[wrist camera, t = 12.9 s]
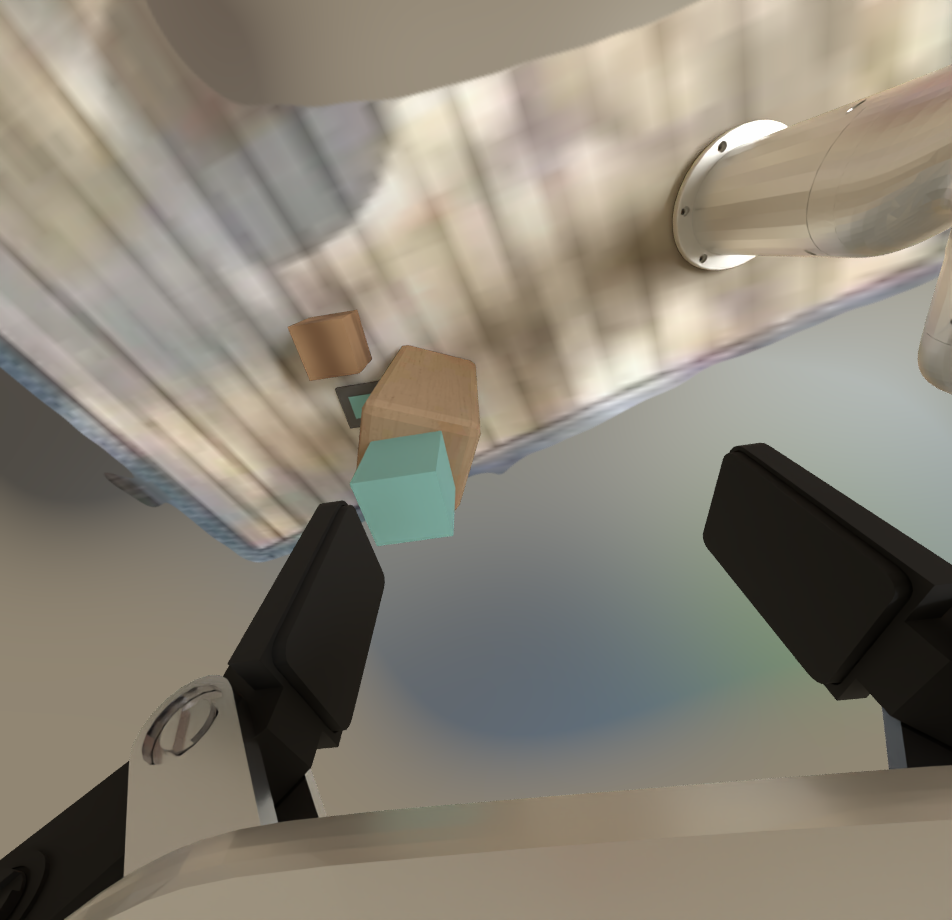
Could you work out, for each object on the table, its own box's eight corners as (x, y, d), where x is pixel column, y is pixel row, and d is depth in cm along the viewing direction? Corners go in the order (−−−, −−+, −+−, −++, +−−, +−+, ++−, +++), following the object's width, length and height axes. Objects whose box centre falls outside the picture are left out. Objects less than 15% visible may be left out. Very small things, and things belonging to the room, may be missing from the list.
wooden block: (391, 411, 49) (351, 500, 32) (401, 341, 44) (359, 401, 27) (460, 427, 50) (457, 519, 33) (477, 360, 45) (484, 428, 28)
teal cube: (441, 430, 28) (435, 471, 23) (455, 488, 31) (453, 535, 26) (370, 441, 28) (349, 484, 23) (391, 497, 32) (377, 546, 26)
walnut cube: (357, 309, 42) (341, 318, 36) (372, 358, 45) (359, 373, 40) (309, 317, 42) (287, 327, 37) (327, 365, 45) (310, 380, 40)
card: (378, 381, 46) (378, 382, 46) (391, 421, 49) (390, 422, 49) (336, 387, 46) (334, 389, 46) (351, 427, 50) (350, 428, 49)
